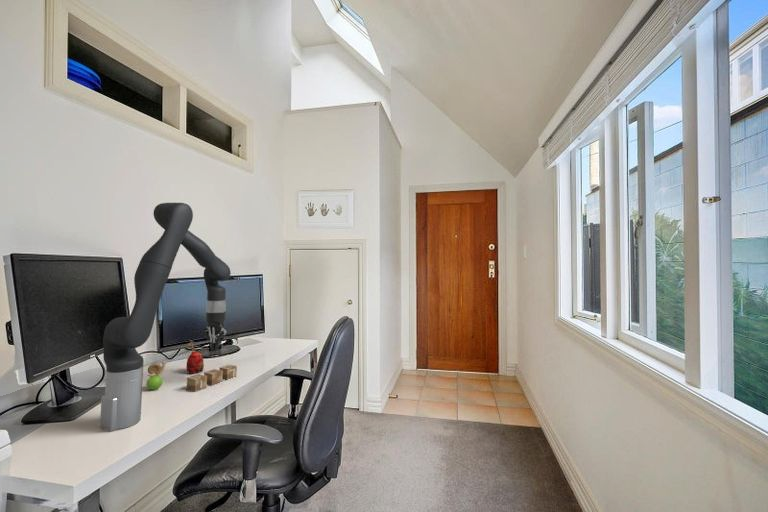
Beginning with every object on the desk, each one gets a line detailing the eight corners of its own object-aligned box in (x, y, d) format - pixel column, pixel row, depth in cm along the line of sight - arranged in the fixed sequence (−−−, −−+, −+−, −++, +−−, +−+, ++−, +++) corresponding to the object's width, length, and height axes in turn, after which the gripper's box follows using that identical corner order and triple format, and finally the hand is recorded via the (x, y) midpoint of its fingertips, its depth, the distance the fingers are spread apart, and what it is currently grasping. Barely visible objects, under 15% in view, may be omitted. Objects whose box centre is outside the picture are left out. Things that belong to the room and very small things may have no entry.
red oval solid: (196, 374, 148) (198, 341, 149) (181, 374, 148) (183, 341, 149) (206, 369, 156) (208, 338, 156) (192, 369, 156) (193, 337, 156)
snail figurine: (166, 388, 131) (168, 358, 131) (147, 393, 126) (149, 362, 127) (163, 385, 135) (164, 356, 135) (144, 389, 130) (146, 359, 130)
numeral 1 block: (195, 392, 128) (195, 379, 128) (186, 390, 130) (187, 377, 130) (206, 388, 133) (207, 375, 133) (198, 386, 135) (198, 373, 135)
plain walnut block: (211, 386, 135) (212, 374, 135) (203, 384, 137) (204, 372, 137) (222, 382, 140) (222, 370, 140) (214, 380, 142) (214, 369, 142)
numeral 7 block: (227, 380, 142) (227, 368, 142) (219, 378, 144) (219, 367, 144) (236, 377, 146) (237, 365, 147) (228, 375, 149) (229, 364, 149)
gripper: (197, 310, 139) (196, 351, 138) (219, 313, 133) (217, 355, 133) (213, 308, 145) (211, 347, 145) (234, 310, 140) (233, 351, 140)
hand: (214, 351), depth 139 cm, fingers closed
